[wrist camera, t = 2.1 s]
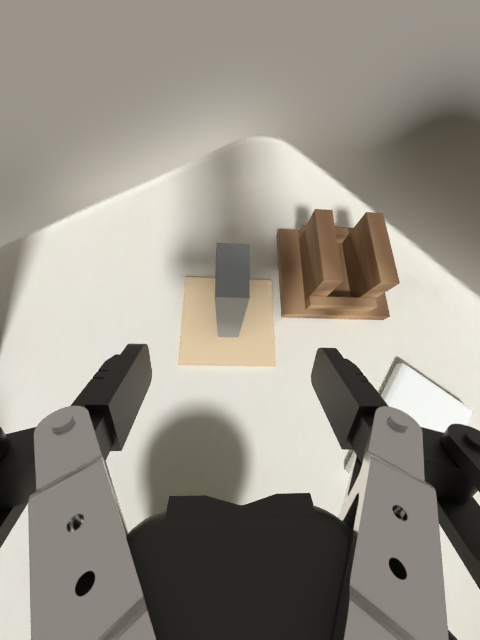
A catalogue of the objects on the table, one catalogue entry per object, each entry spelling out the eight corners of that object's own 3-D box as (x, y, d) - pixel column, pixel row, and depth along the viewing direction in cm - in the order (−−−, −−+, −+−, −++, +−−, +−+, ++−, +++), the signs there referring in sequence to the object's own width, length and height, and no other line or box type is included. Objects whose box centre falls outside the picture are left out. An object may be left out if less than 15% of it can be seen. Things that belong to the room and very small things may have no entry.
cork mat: (178, 365, 23) (178, 365, 23) (185, 278, 26) (185, 276, 26) (275, 366, 24) (275, 366, 24) (271, 281, 27) (271, 280, 27)
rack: (281, 317, 26) (299, 294, 20) (276, 235, 29) (290, 196, 23) (382, 319, 27) (428, 298, 21) (366, 240, 30) (401, 203, 24)
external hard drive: (459, 410, 25) (416, 527, 21) (392, 364, 26) (340, 467, 22) (474, 411, 23) (432, 537, 19) (403, 362, 24) (350, 473, 20)
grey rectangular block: (217, 337, 24) (214, 297, 14) (218, 302, 25) (216, 243, 16) (238, 337, 24) (249, 298, 14) (238, 302, 26) (248, 244, 16)
